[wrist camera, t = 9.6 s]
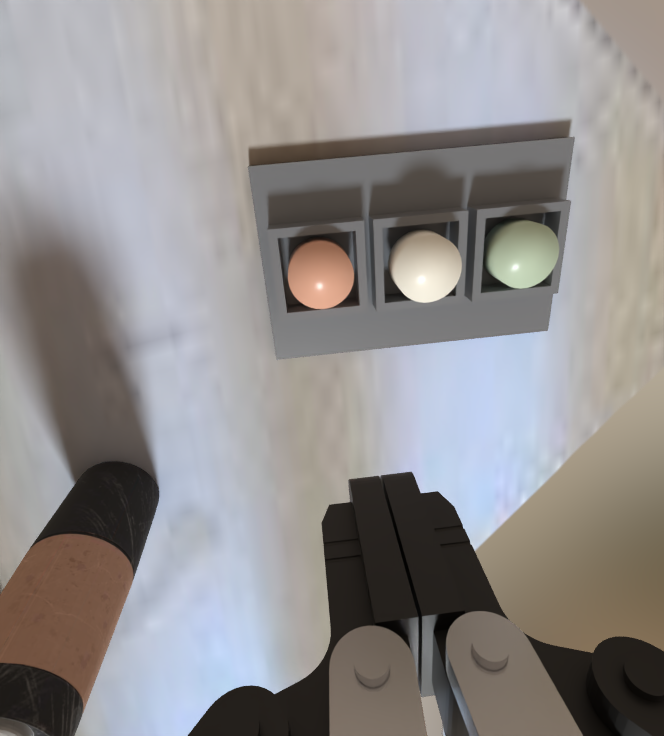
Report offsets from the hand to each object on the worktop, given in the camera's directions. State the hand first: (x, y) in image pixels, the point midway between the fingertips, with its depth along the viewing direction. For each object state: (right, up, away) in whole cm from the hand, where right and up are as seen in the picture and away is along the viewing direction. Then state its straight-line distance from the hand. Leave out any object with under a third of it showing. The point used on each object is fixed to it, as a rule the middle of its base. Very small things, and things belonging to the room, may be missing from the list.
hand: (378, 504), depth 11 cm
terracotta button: (-2, +10, +22) cm, 24 cm away
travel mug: (-21, -8, +31) cm, 38 cm away
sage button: (+12, +12, +22) cm, 28 cm away
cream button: (+5, +11, +21) cm, 24 cm away
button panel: (+5, +12, +23) cm, 26 cm away
